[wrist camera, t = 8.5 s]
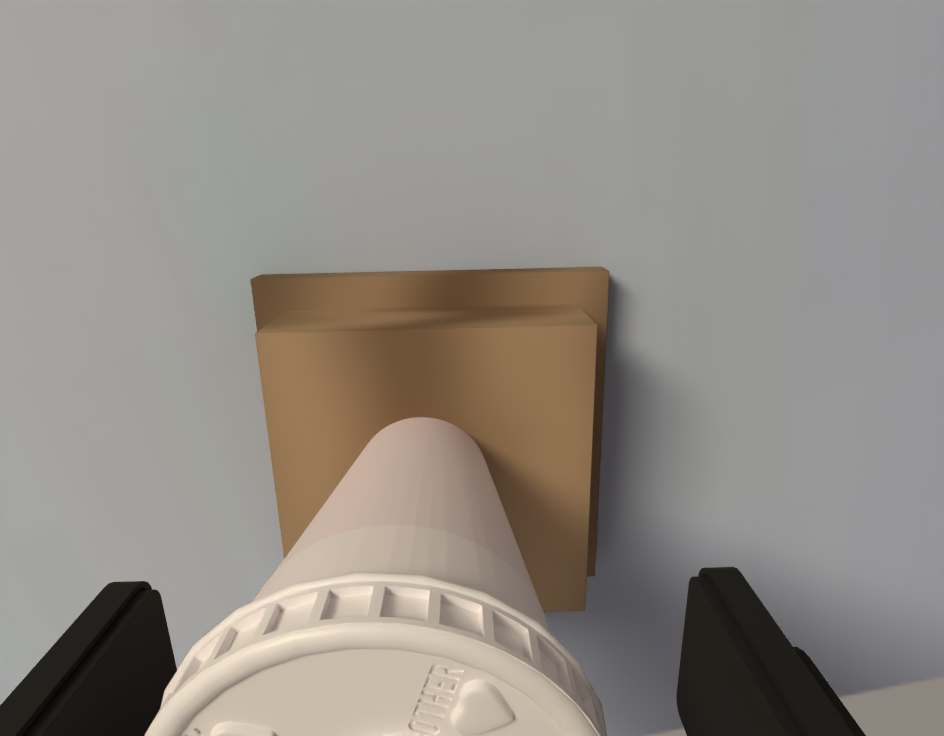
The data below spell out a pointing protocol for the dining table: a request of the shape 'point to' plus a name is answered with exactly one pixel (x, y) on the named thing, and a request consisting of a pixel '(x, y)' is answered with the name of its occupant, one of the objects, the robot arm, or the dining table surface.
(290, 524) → the pedestal
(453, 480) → the smoothie
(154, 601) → the robot arm
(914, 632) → the dining table surface
